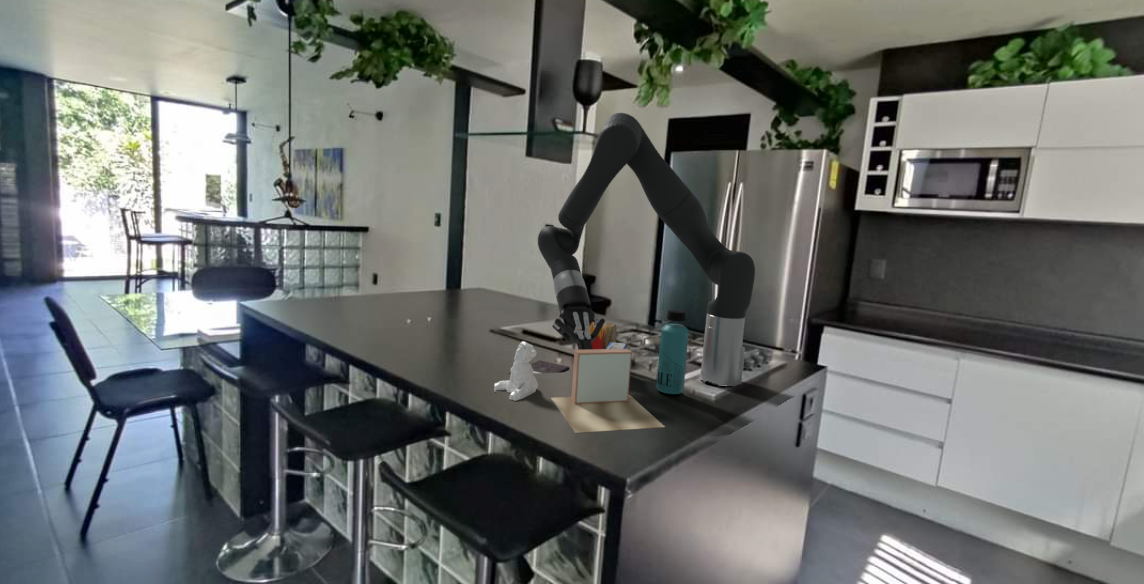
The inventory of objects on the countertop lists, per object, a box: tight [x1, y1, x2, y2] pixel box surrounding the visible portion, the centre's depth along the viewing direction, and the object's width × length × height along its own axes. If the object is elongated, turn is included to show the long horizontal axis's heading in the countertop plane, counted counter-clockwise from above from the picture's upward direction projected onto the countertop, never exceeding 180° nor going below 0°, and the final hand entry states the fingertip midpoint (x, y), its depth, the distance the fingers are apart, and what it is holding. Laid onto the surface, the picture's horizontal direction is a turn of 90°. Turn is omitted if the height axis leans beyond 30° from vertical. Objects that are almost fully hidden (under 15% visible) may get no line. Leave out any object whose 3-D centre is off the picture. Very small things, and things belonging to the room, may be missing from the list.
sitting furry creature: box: [493, 340, 539, 402], centre depth 115 cm, size 10×9×12 cm
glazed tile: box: [570, 348, 633, 404], centre depth 112 cm, size 12×3×11 cm, turn 107°
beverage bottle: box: [655, 309, 690, 395], centre depth 120 cm, size 6×7×20 cm
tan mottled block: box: [603, 322, 617, 349], centre depth 149 cm, size 10×4×10 cm, turn 162°
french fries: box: [590, 322, 604, 349], centre depth 141 cm, size 8×4×12 cm, turn 159°
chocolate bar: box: [508, 360, 570, 375], centre depth 132 cm, size 9×1×18 cm
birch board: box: [550, 393, 666, 434], centre depth 107 cm, size 18×18×1 cm
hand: (587, 356), depth 117 cm, fingers closed
